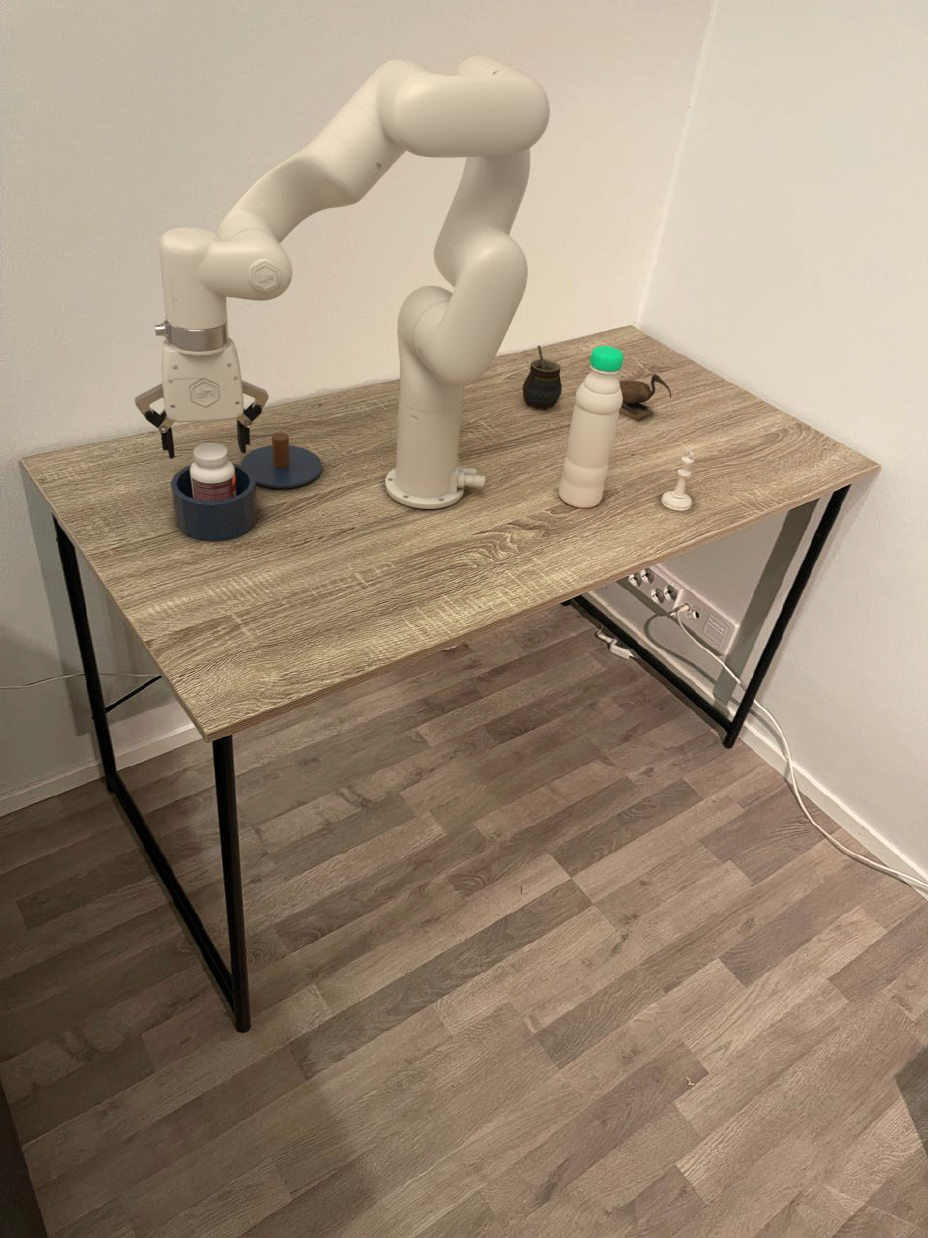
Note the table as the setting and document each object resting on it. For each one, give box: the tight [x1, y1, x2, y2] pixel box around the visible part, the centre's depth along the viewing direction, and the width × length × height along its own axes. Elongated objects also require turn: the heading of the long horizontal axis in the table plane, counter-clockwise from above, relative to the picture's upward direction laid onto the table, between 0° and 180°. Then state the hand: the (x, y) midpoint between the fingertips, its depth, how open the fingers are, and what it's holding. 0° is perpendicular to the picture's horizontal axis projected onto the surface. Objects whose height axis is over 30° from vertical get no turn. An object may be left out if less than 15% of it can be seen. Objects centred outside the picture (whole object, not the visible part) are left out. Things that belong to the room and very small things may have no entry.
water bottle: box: [558, 345, 624, 509], centre depth 142 cm, size 7×7×25 cm
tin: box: [170, 462, 259, 542], centre depth 135 cm, size 12×12×6 cm
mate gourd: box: [522, 345, 563, 411], centre depth 172 cm, size 7×8×10 cm
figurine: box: [619, 374, 672, 422], centre depth 173 cm, size 14×4×9 cm, turn 45°
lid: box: [240, 432, 322, 489], centre depth 147 cm, size 13×13×6 cm
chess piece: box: [660, 447, 695, 512], centre depth 149 cm, size 5×5×10 cm
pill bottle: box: [190, 442, 237, 501], centre depth 133 cm, size 6×6×11 cm
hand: (207, 451), depth 130 cm, fingers open, 9 cm apart
